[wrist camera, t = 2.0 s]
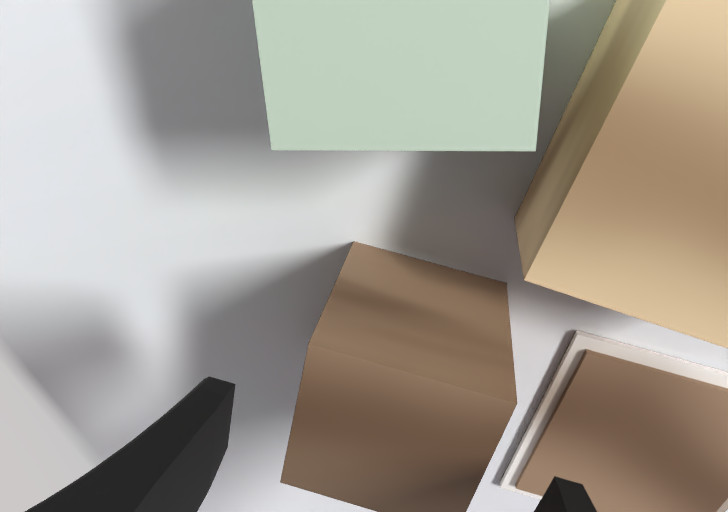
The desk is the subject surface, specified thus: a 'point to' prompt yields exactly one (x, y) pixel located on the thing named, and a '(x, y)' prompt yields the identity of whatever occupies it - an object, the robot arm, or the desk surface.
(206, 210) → the desk surface
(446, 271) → the walnut block
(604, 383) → the tile
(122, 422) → the desk surface
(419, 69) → the sage block
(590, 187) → the maple block
